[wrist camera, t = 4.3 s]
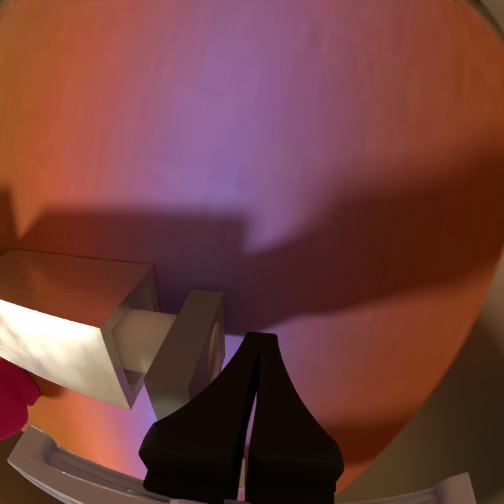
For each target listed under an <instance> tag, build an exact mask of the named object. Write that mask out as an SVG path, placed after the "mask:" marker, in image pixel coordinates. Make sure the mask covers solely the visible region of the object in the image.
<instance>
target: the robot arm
mask: <svg viewBox="0 0 504 504" xmlns="http://www.w3.org/2000/svg"><path fill="white" fill-rule="evenodd" d="M256 391H257V400H256V409H255V416H254V422H253V428H252V434H251V440H250V445H249V454H248V471H247V479H246V486H245V501H237V496H238V490H244V482H245V458H244V457H243V455H244V448H245V441H246V434H247V428H248V423H249V419H250V415H251V411H252V407H253V403H254V399H255V395H256ZM138 454H139V456H140V458H141V460H142V461H143V463H144V464H145V466H146V468H147V469H148V471H147V474H146V477H145V480H141V479H138V478H135V477H132V476H129V475H126V474H123V473H120V472H117V471H115V470H112V469H109V468H107V467H104V466H102V465H99V464H97V463H95V462H92V461H90V460H88V459H85V458H83V457H81V456H79V455H77V454H75V453H72V452H70V451H68V450H66V449H64V448H62V447H60V446H58V445H57V444H56V442H55V441H54V440H53V439H52V438H51V437H50V436H49V435H48V434H46V433H45V432H43V431H41V430H39V429H38V428H36V427H34V426H32V425H29V426H28V428H27V429H26V431H25V432H24V434H23V435H22V437H21V438H20V440H19V442H18V443H17V445H16V447H15V448H14V450H13V451H12V453H11V454H10V456H9V458H8V462H9V463H10V464H11V465H12V466H13V467H14V468H15V469H17V470H18V471H19V472H20V473H21V474H22V475H23V476H25V477H26V478H27V479H28V480H30V481H31V482H32V483H33V484H35V485H36V486H37V487H39V488H41V489H42V490H44V491H45V492H47V493H49V494H50V495H52V496H54V497H55V498H57V499H59V500H60V501H62V502H64V503H65V504H334V493H335V491H336V481H337V480H338V479H339V477H340V476H341V475H342V473H343V471H344V463H343V458H342V455H341V451H340V449H339V446H338V444H337V443H336V442H335V441H334V440H333V439H332V438H331V437H330V436H329V435H328V434H327V433H326V432H325V431H324V429H323V428H322V427H321V426H320V425H319V424H318V422H317V421H316V420H315V419H314V417H313V416H312V415H311V413H310V412H309V411H308V409H307V408H306V406H305V405H304V403H303V402H302V400H301V399H300V397H299V395H298V393H297V392H296V390H295V388H294V386H293V384H292V382H291V380H290V377H289V375H288V373H287V370H286V368H285V365H284V362H283V360H282V357H281V353H280V349H279V345H278V337H277V335H276V334H271V333H260V332H248V333H246V336H245V338H244V340H243V342H242V343H241V345H240V347H239V348H238V350H237V352H236V353H235V354H234V356H233V357H232V359H231V360H230V362H229V363H228V364H227V365H226V367H225V368H224V369H223V370H222V371H221V373H220V374H219V375H218V376H217V377H216V378H215V379H214V380H213V381H212V382H211V383H210V384H209V385H208V386H207V387H206V388H205V389H204V390H203V391H202V392H201V393H199V394H198V395H197V396H196V397H195V398H193V399H192V400H191V401H189V402H188V403H187V404H185V405H184V406H182V407H181V408H179V409H178V410H176V411H175V412H173V413H171V414H170V415H168V416H166V417H164V418H162V419H160V420H159V421H157V422H155V423H153V425H152V426H151V428H150V429H149V431H148V432H147V434H146V436H145V437H144V439H143V442H142V445H141V447H140V450H139V452H138ZM337 504H476V502H475V497H474V493H473V489H472V485H471V482H470V478H469V474H468V472H465V473H462V474H459V475H456V476H453V477H450V478H447V479H445V480H443V481H441V482H440V483H438V484H437V485H436V486H435V487H433V488H430V489H426V490H422V491H418V492H413V493H409V494H404V495H399V496H394V497H388V498H382V499H376V500H368V501H359V502H350V503H337Z"/></svg>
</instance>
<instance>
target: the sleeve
mask: <svg viewBox="0 0 504 504" xmlns="http://www.w3.org/2000/svg"><path fill="white" fill-rule="evenodd" d="M128 308H134V309H140V310H146V311H153V312H159V313H160V307H159V300H158V293H157V287H156V279H155V272H154V265H153V264H142V263H132V262H123V261H113V260H103V259H94V258H85V257H76V256H67V255H59V254H50V253H42V252H34V251H26V250H18V249H11V250H10V251H8V252H6V253H5V254H3V255H2V256H0V356H1V357H3V358H4V359H6V360H8V361H10V362H12V363H14V364H16V365H18V366H20V367H22V368H24V369H26V370H28V371H30V372H32V373H34V374H36V375H38V376H40V377H42V378H45V379H47V380H49V381H51V382H54V383H56V384H58V385H61V386H63V387H66V388H68V389H71V390H73V391H76V392H78V393H81V394H84V395H86V396H89V397H92V398H95V399H98V400H100V401H103V402H106V403H110V404H113V405H116V406H119V407H122V408H126V409H129V410H131V408H132V406H133V404H134V402H135V400H136V398H137V396H138V394H139V392H140V390H141V388H142V386H143V384H144V380H143V379H144V377H145V375H146V374H143V373H139V372H135V371H131V370H127V369H123V368H122V365H121V362H120V359H119V356H118V353H117V350H116V347H115V344H114V341H113V338H112V334H111V330H112V329H113V328H114V326H115V325H116V324H117V322H118V321H119V320H120V318H121V317H122V316H123V315H124V313H125V312H126V311H127V309H128Z"/></svg>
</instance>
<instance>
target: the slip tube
mask: <svg viewBox="0 0 504 504" xmlns="http://www.w3.org/2000/svg"><path fill="white" fill-rule="evenodd" d="M111 334H112V338H113V341H114V344H115V347H116V350H117V353H118V356H119V359H120V362H121V365H122V368H123V369H127V370H131V371H135V372H139V373H143V374H146V375H145V377H144V379H143V380H144V383H145V386H146V389H147V392H148V395H149V398H150V401H151V404H152V406H153V409H154V412H155V415H156V417H157V420H158V421H159V420H160V419H162V418H164V417H166V416H168V415H170V414H171V413H173V412H175V411H176V410H178V409H179V408H181V407H182V406H184V405H185V404H187V403H188V402H189V401H191V400H192V399H193V398H195V397H196V396H197V395H198V394H199V393H201V392H202V391H203V390H204V389H205V388H206V387H207V386H208V385H209V384H210V383H211V382H212V381H213V380H214V379H215V378H216V377H217V376H218V375H219V374H220V373H221V369H222V365H223V361H224V358H225V335H224V299H223V292H219V291H209V290H199V289H191V291H190V293H189V295H188V297H187V298H186V300H185V302H184V304H183V306H182V307H181V309H180V311H179V313H178V315H173V314H166V313H159V312H153V311H146V310H140V309H134V308H128V309H127V311H126V312H125V313H124V315H123V316H122V317H121V318H120V320H119V321H118V322H117V324H116V325H115V326H114V328H113V329H112V330H111Z"/></svg>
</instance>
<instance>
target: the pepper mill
mask: <svg viewBox="0 0 504 504" xmlns="http://www.w3.org/2000/svg"><path fill="white" fill-rule="evenodd" d="M39 396H40V392H39V389H38V387H37V386H36V384H35V383H34V381H33V380H32V378H31V377H30V376H29V375H28V374H27V373H26V372H25V370H24V369H23V368H22V367H20V366H18V365H16V364H14V363H12V362H10V361H8V360H6V359H4V358H3V357H2V358H1V359H0V441H1V440H3V439H5V438H6V437H9V436H11V435H13V434H15V433H17V432H18V431H19V430H20V429H22V428H23V426H24V425H25V424H26V423H27V421H28V410H27V405H29V406H33V405H34V404H35V402H36V401H37V399H38V398H39Z"/></svg>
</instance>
